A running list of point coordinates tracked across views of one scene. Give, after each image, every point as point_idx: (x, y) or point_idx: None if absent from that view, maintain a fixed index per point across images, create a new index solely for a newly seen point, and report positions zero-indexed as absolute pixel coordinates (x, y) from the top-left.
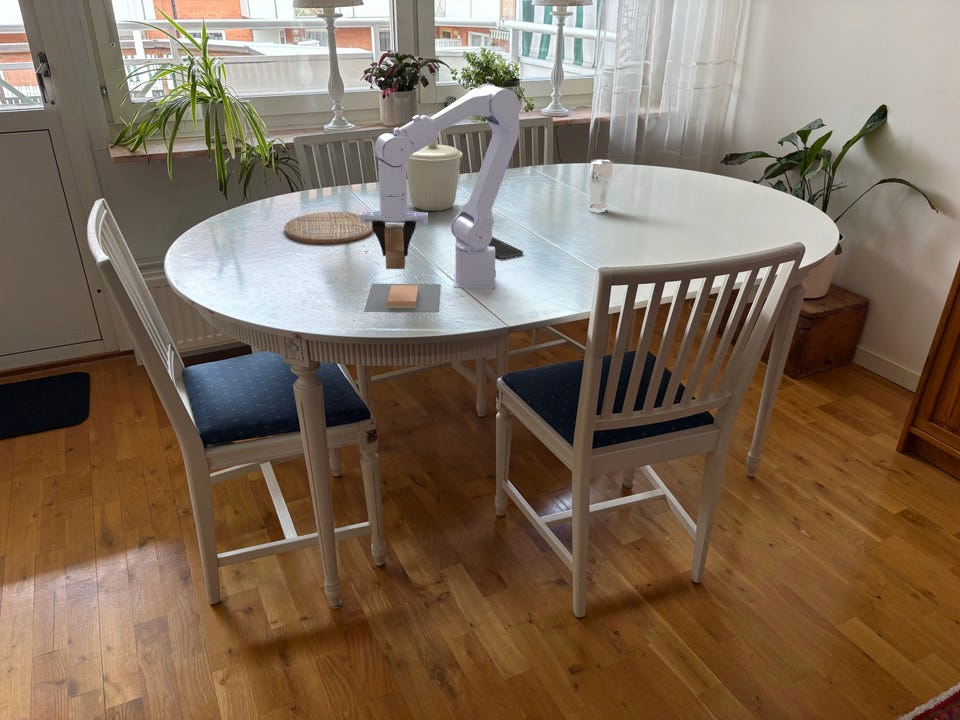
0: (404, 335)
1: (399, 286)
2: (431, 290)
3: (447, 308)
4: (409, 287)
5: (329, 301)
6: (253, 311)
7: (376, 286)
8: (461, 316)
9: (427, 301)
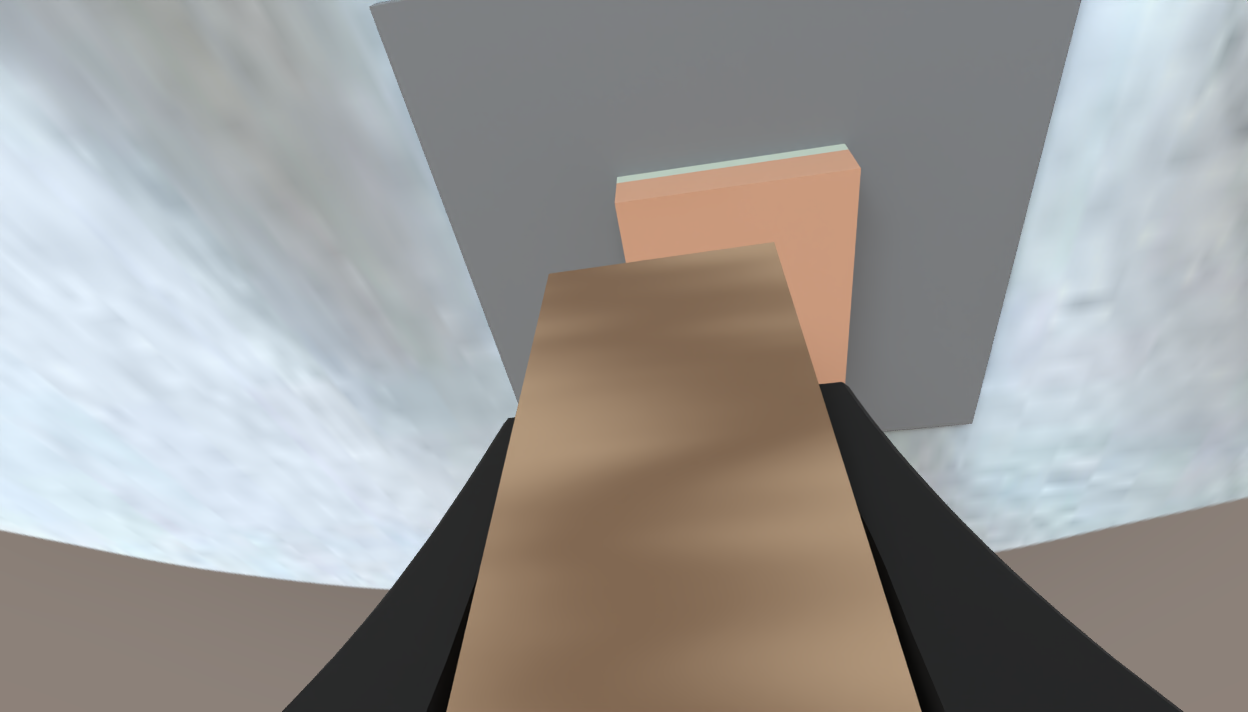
0: None
1: (691, 218)
2: (973, 86)
3: (1039, 346)
4: (782, 224)
5: (268, 353)
6: (19, 490)
7: (446, 78)
8: (1100, 425)
9: (913, 302)
